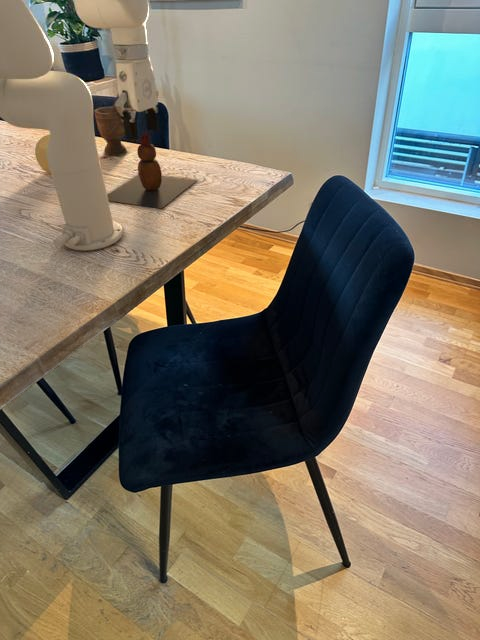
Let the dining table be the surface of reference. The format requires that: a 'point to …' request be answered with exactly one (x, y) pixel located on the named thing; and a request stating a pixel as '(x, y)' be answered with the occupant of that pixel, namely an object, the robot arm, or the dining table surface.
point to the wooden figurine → (148, 164)
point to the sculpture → (42, 153)
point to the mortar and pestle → (111, 129)
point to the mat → (150, 192)
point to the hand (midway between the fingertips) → (143, 134)
